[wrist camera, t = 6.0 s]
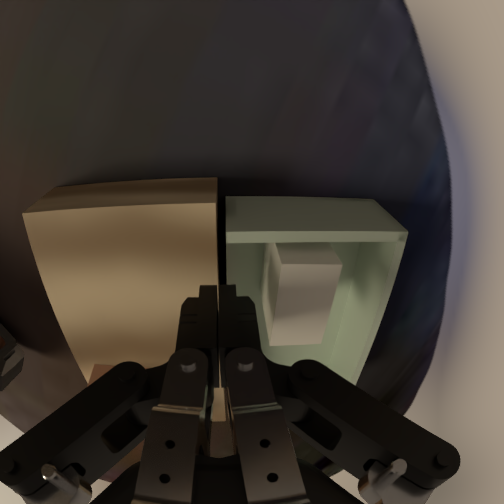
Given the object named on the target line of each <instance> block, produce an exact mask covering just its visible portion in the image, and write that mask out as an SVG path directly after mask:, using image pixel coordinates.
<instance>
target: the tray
mask: <svg viewBox="0 0 504 504" xmlns="http://www.w3.org/2000/svg"><path fill="white" fill-rule="evenodd" d="M407 236H408V231H407V230H406V229H405V228H404V227H403V226H402V225H401V224H400V223H399V222H398V221H397V220H396V219H394V218H393V217H392V216H391V215H390V214H389V213H388V212H387V211H386V210H385V209H384V208H383V207H381V206H380V205H379V204H378V203H377V202H376V201H375V200H374V199H358V198H332V197H291V196H226V283H227V285H231V284H236V294H237V296H249V297H250V298H251V300H252V301H253V302H254V303H255V308H256V315H257V322H258V329H259V335H260V342H261V349H262V352H263V354H264V355H265V356H266V357H267V358H268V359H269V360H270V361H272V362H274V363H277V364H281V365H286V366H292V365H293V364H294V363H295V362H297V361H299V360H303V359H312V360H316V361H318V362H320V363H322V364H324V365H325V366H327V367H328V368H329V369H331V370H332V371H334V372H335V373H337V374H338V375H340V376H341V377H343V378H345V379H346V380H348V381H349V382H351V383H352V384H354V385H355V384H356V382H357V380H358V378H359V375H360V373H361V371H362V368H363V366H364V364H365V361H366V359H367V356H368V354H369V351H370V349H371V346H372V344H373V341H374V339H375V336H376V333H377V331H378V328H379V325H380V323H381V320H382V317H383V314H384V311H385V308H386V306H387V303H388V300H389V297H390V294H391V291H392V287H393V284H394V281H395V278H396V275H397V271H398V268H399V265H400V261H401V258H402V254H403V251H404V247H405V243H406V240H407ZM285 242H329V243H330V244H331V246H332V248H333V249H334V251H335V253H336V254H337V256H338V258H339V259H340V261H341V263H342V264H343V265H342V269H341V273H340V277H339V281H338V285H337V288H336V292H335V296H334V300H333V303H332V307H331V311H330V314H329V318H328V321H327V325H326V328H325V332H324V335H323V338H322V342H321V344H306V345H284V346H270V345H269V339H268V333H267V327H266V321H265V316H264V310H263V304H262V298H261V293H260V283H261V273H262V263H263V252H264V243H285Z"/></svg>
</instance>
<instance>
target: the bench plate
mask: <svg viewBox="0 0 504 504" xmlns="http://www.w3.org/2000/svg"><path fill="white" fill-rule="evenodd" d="M22 214H23V219H24V222H25V226H26V230H27V234H28V237H29V241H30V244H31V248H32V251H33V254H34V258H35V261H36V264H37V267H38V270H39V273H40V276H41V279H42V281H43V284H44V287H45V290H46V292H47V295H48V298H49V300H50V303H51V305H52V308H53V310H54V313H55V315H56V318H57V320H58V322H59V325H60V327H61V329H62V332H63V334H64V336H65V338H66V340H67V343H68V345H69V347H70V349H71V351H72V353H73V355H74V357H75V359H76V361H77V363H78V365H79V367H80V369H81V371H82V373H83V375H84V377H85V379H86V380H87V382H88V383H89V379H90V376H91V373H92V370H93V367H94V364H99V365H111V366H116V365H117V364H119V363H122V362H126V361H133V362H137V363H139V364H141V365H142V366H143V367H144V368H153V367H157V366H160V365H163V364H165V363H166V362H168V361H169V358H170V356H171V355H172V354H173V353H174V352H175V348H176V340H177V332H178V325H179V318H180V311H181V305H182V304H183V302H184V301H185V300H186V299H187V297H199V287H200V285H217V292H218V289H219V285H220V281H219V247H218V193H217V177H209V178H174V179H152V180H134V181H119V182H106V183H94V184H83V185H73V186H63V187H55V188H53V189H52V190H51V191H49V192H48V193H47V194H46V195H44V196H43V197H42V198H40V199H39V200H38V201H37V202H35V203H34V204H33V205H32V206H30V207H29V208H28V209H27V210H26V211H24V212H23V213H22ZM219 384H220V388H214V401H213V414H212V421H226V417H225V390H224V388H221V376H220V362H219Z"/></svg>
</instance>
